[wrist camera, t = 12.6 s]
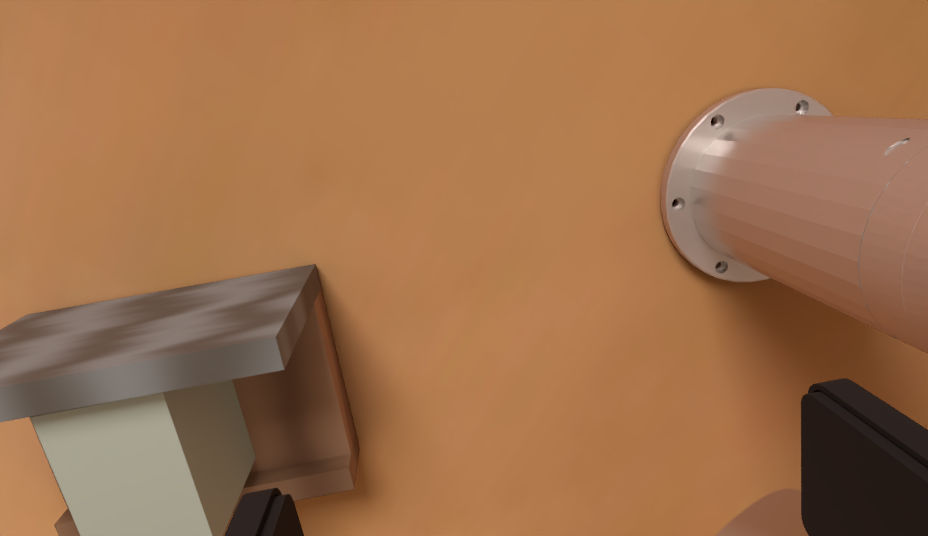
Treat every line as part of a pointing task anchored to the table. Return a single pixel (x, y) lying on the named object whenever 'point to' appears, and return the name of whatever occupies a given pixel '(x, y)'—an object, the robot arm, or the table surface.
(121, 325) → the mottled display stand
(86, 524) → the mini block
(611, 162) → the table surface
